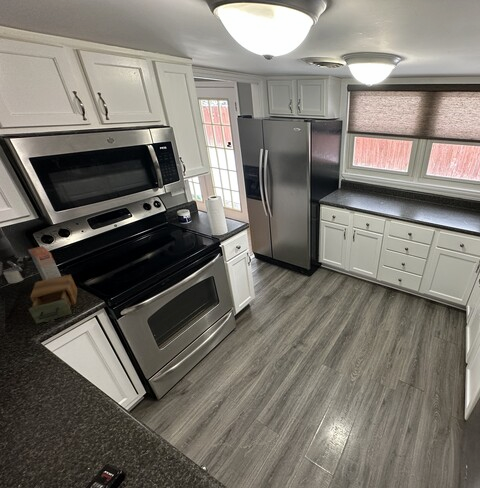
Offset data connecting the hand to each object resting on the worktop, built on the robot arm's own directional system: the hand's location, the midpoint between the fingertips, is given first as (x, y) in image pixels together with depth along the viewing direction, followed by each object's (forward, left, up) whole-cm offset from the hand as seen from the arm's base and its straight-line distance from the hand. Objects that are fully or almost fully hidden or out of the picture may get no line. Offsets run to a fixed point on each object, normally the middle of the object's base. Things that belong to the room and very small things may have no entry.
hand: (15, 278), depth 126 cm
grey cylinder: (0, 0, -1) cm, 1 cm away
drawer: (+13, -24, -11) cm, 30 cm away
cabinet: (+13, -12, -12) cm, 21 cm away
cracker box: (+10, +6, -12) cm, 17 cm away
